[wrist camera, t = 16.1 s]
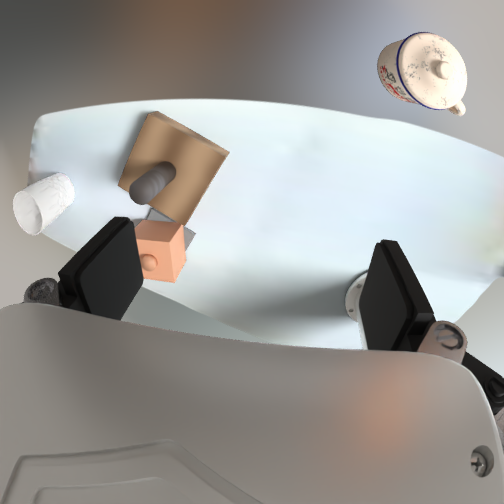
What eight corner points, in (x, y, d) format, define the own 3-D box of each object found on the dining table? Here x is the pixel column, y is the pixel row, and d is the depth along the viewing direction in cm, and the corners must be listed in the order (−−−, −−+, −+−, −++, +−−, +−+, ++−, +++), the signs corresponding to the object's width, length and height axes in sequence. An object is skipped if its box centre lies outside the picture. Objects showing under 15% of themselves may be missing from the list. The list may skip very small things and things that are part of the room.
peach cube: (186, 260, 48) (172, 286, 42) (148, 256, 49) (131, 280, 43) (183, 222, 45) (166, 246, 39) (142, 219, 45) (122, 241, 39)
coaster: (195, 233, 46) (194, 235, 46) (176, 266, 50) (175, 268, 50) (153, 207, 44) (151, 209, 44) (137, 243, 48) (135, 245, 48)
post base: (229, 152, 39) (209, 175, 29) (190, 217, 45) (164, 255, 35) (157, 111, 36) (117, 122, 27) (126, 179, 42) (87, 207, 33)
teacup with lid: (361, 72, 31) (390, 67, 21) (397, 28, 26) (435, 12, 16) (425, 130, 33) (468, 150, 23) (458, 88, 28) (506, 96, 19)
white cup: (70, 164, 42) (32, 186, 33) (83, 205, 46) (49, 232, 37) (43, 174, 43) (7, 196, 35) (55, 212, 47) (23, 237, 39)
